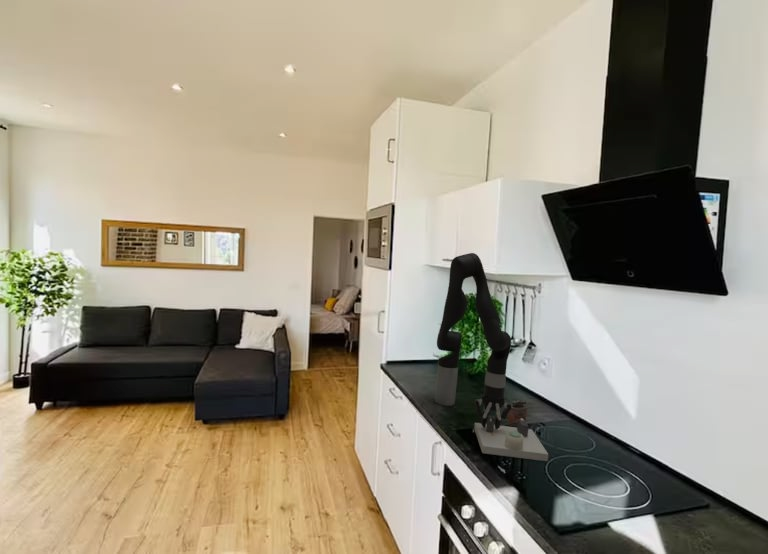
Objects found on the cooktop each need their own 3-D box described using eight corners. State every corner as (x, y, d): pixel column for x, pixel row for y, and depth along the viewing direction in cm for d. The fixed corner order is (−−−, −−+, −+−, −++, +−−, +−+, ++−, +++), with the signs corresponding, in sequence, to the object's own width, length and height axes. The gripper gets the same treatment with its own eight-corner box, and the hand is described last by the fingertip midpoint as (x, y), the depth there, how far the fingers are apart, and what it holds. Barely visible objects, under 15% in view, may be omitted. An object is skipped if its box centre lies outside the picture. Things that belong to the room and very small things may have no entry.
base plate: (474, 428, 158) (476, 411, 158) (531, 435, 156) (533, 417, 156) (482, 453, 138) (484, 433, 138) (547, 461, 136) (549, 441, 136)
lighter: (510, 426, 164) (513, 402, 163) (506, 422, 167) (508, 399, 167) (527, 425, 166) (530, 402, 165) (522, 422, 169) (525, 399, 169)
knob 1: (493, 426, 155) (495, 415, 155) (492, 432, 149) (493, 420, 149) (487, 425, 156) (488, 414, 156) (486, 430, 150) (487, 419, 150)
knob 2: (520, 435, 149) (522, 424, 148) (516, 428, 155) (518, 417, 154) (527, 436, 148) (528, 424, 148) (523, 429, 154) (524, 418, 154)
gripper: (477, 384, 149) (472, 429, 149) (516, 389, 147) (511, 434, 148) (474, 378, 156) (470, 421, 157) (511, 382, 155) (507, 426, 156)
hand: (490, 427), depth 153 cm, fingers open, 4 cm apart
